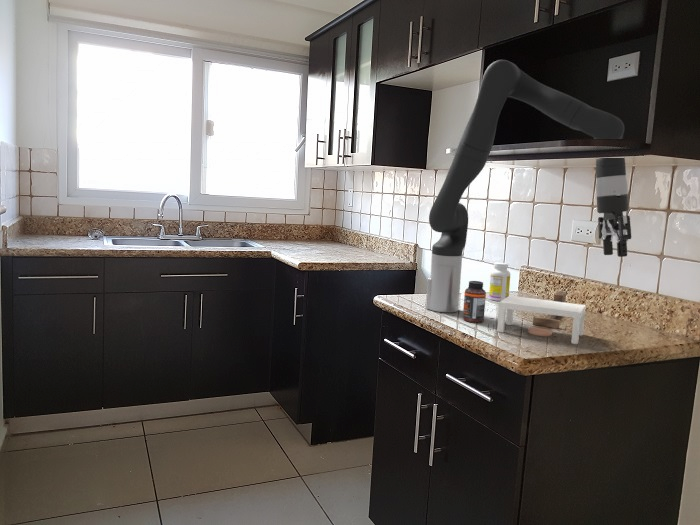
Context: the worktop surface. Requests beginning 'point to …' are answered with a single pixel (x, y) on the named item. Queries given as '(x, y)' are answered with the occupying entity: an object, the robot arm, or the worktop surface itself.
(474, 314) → the supplement bottle
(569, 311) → the white shelf
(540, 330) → the terracotta coaster
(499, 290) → the supplement bottle
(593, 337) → the worktop surface
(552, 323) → the walnut push stick
